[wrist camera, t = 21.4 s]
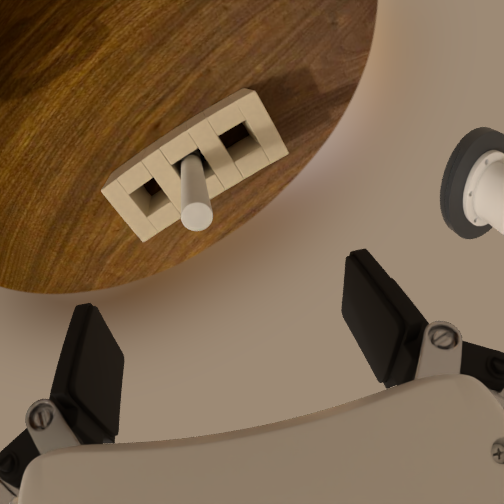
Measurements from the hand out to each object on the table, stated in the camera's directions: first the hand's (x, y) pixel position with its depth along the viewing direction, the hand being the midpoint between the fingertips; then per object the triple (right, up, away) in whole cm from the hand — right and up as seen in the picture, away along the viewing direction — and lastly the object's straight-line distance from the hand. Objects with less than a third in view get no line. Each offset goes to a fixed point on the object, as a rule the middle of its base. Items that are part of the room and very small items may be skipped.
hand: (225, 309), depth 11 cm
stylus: (-5, +11, +18) cm, 22 cm away
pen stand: (-5, +11, +18) cm, 22 cm away
